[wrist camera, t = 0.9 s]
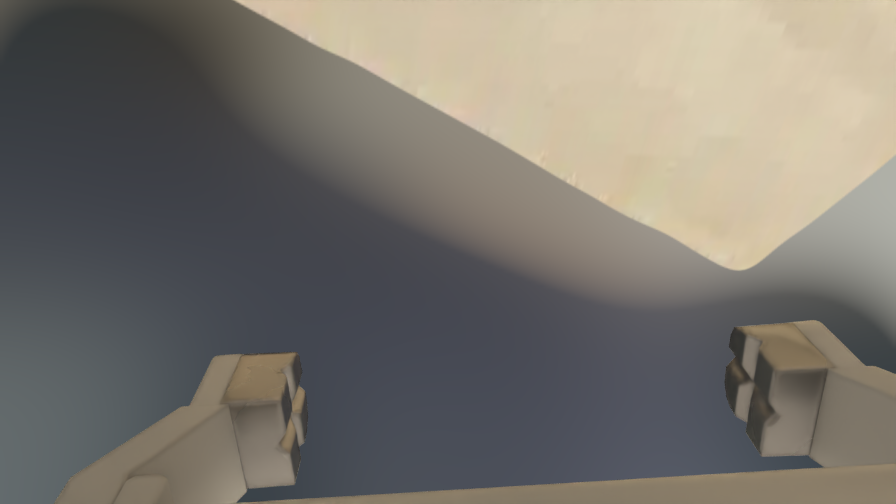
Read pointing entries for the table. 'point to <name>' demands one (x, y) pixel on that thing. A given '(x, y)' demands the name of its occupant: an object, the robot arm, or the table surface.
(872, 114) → the table surface
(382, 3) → the table surface
